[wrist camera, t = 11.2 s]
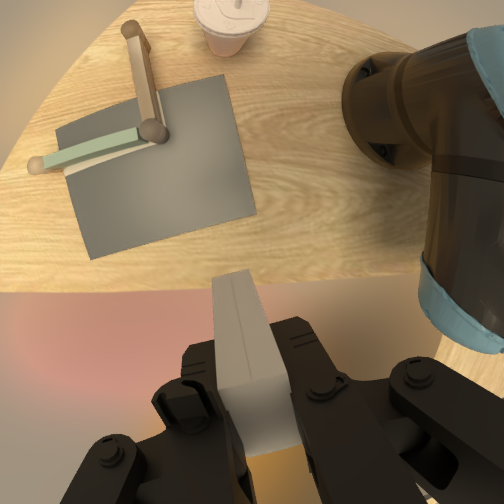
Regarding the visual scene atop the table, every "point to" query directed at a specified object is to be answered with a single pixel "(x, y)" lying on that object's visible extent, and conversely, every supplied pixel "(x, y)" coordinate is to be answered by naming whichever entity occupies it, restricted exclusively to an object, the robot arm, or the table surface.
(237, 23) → the smoothie
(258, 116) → the table surface
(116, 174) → the card
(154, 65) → the table surface
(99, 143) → the gate panel
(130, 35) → the base
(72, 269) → the table surface
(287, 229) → the table surface
